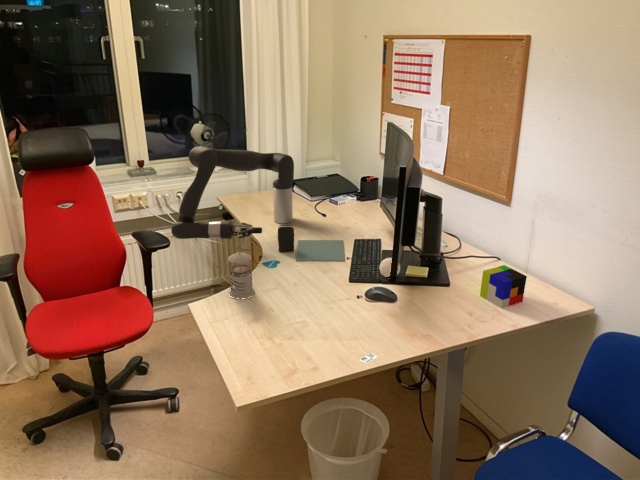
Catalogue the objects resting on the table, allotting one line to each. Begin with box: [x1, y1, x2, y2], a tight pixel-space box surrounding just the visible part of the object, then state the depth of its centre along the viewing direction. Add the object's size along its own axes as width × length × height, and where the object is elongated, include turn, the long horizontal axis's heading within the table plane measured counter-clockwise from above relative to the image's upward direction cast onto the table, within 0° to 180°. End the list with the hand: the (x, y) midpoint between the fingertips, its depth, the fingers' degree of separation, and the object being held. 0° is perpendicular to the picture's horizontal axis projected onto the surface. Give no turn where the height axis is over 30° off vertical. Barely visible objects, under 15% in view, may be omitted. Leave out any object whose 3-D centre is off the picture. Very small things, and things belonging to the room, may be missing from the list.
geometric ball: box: [378, 257, 401, 278], centre depth 193 cm, size 8×8×8 cm
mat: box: [295, 239, 345, 262], centre depth 218 cm, size 22×20×1 cm
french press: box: [223, 228, 256, 299], centre depth 178 cm, size 10×12×25 cm
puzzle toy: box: [479, 264, 527, 309], centre depth 177 cm, size 10×10×10 cm
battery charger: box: [277, 224, 295, 253], centre depth 216 cm, size 7×4×11 cm, turn 94°
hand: (261, 230), depth 215 cm, fingers closed
